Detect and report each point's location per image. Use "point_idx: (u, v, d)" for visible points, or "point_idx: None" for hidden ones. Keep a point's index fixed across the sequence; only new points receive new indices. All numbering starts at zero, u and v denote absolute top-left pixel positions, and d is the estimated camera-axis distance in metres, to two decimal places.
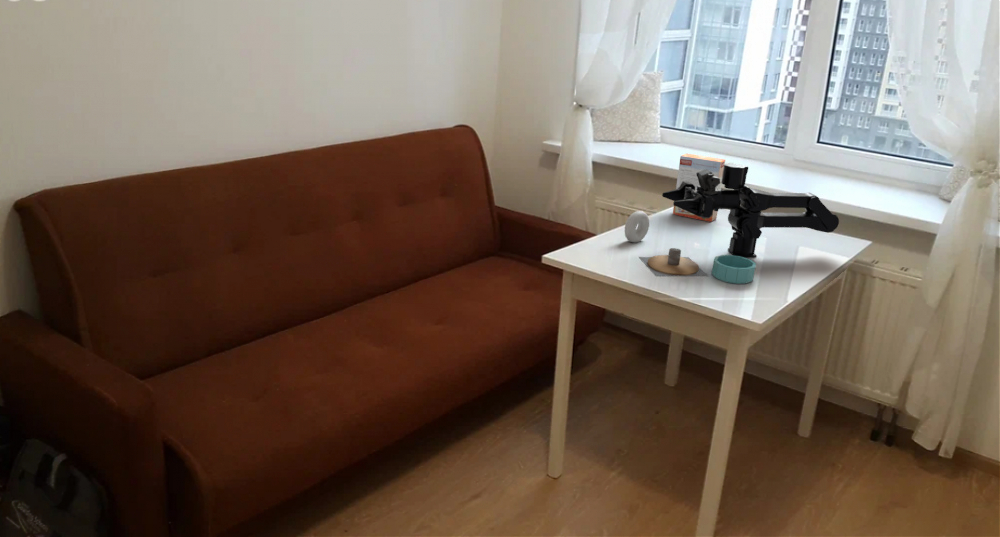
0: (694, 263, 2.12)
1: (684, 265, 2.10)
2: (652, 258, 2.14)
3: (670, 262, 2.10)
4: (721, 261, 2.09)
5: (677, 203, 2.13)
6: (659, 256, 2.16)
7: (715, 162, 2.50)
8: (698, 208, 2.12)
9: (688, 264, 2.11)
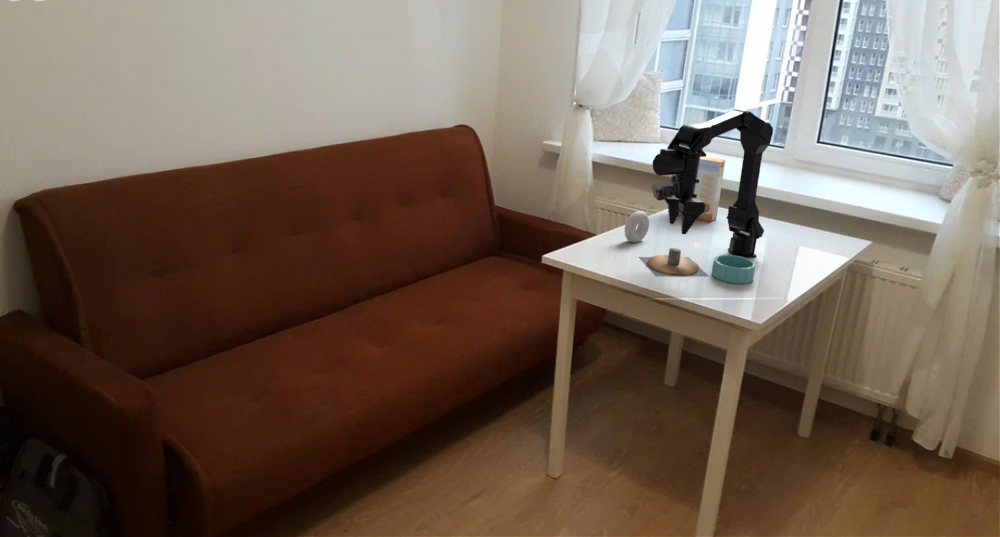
0: (694, 263, 2.12)
1: (684, 265, 2.10)
2: (652, 258, 2.14)
3: (670, 262, 2.10)
4: (721, 261, 2.09)
5: (684, 231, 2.03)
6: (659, 256, 2.16)
7: (715, 162, 2.50)
8: None
9: (688, 264, 2.11)
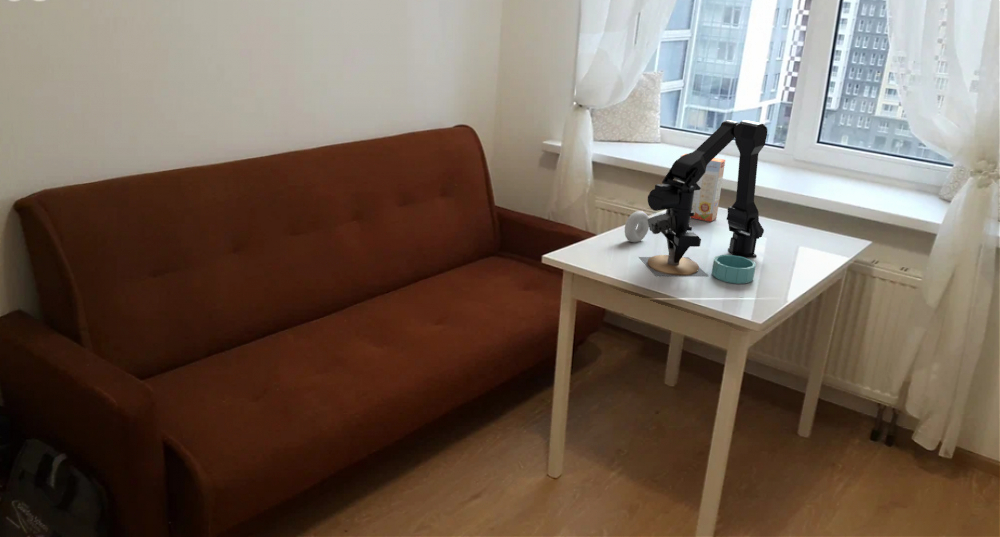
0: (694, 263, 2.12)
1: (684, 265, 2.10)
2: (652, 258, 2.14)
3: (670, 262, 2.10)
4: (721, 261, 2.09)
5: (676, 260, 2.09)
6: (659, 256, 2.16)
7: (715, 162, 2.50)
8: None
9: (688, 264, 2.11)
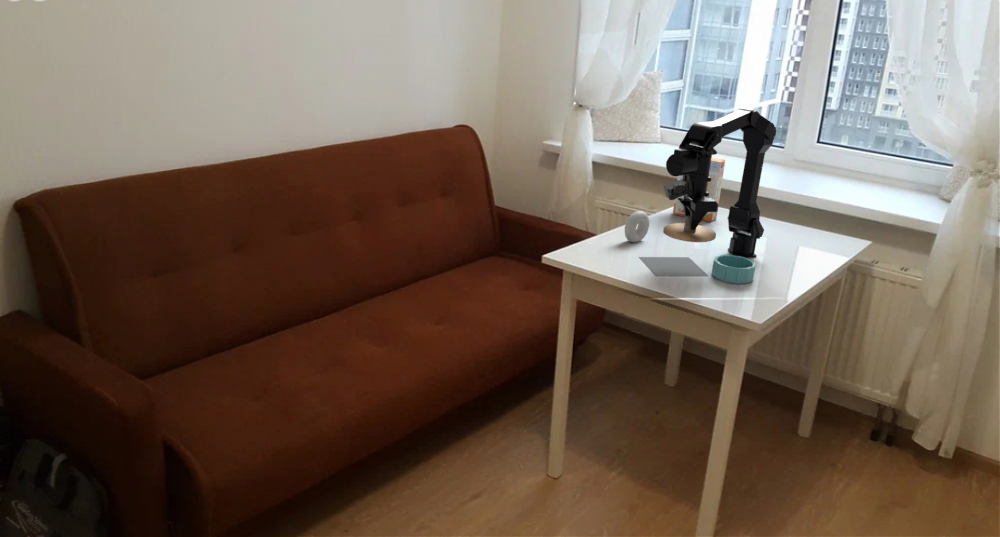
0: (711, 230, 2.08)
1: (701, 232, 2.06)
2: (668, 226, 2.10)
3: (686, 229, 2.06)
4: (721, 261, 2.09)
5: (693, 227, 2.04)
6: (675, 224, 2.12)
7: (715, 162, 2.50)
8: None
9: (705, 231, 2.07)
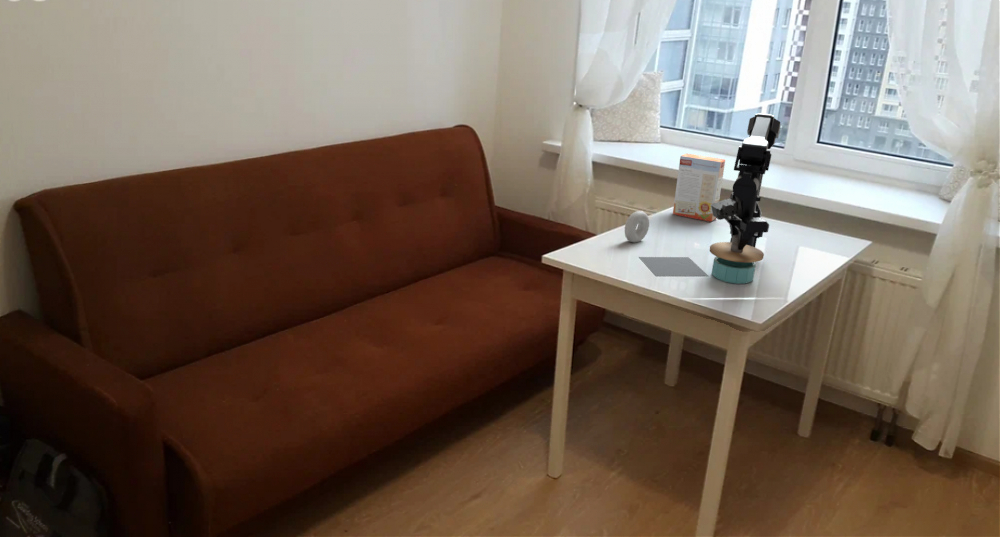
0: (758, 250, 2.05)
1: (748, 252, 2.03)
2: (714, 245, 2.07)
3: (734, 249, 2.02)
4: (721, 261, 2.09)
5: (741, 246, 2.01)
6: (720, 243, 2.09)
7: (715, 162, 2.50)
8: None
9: (752, 251, 2.04)
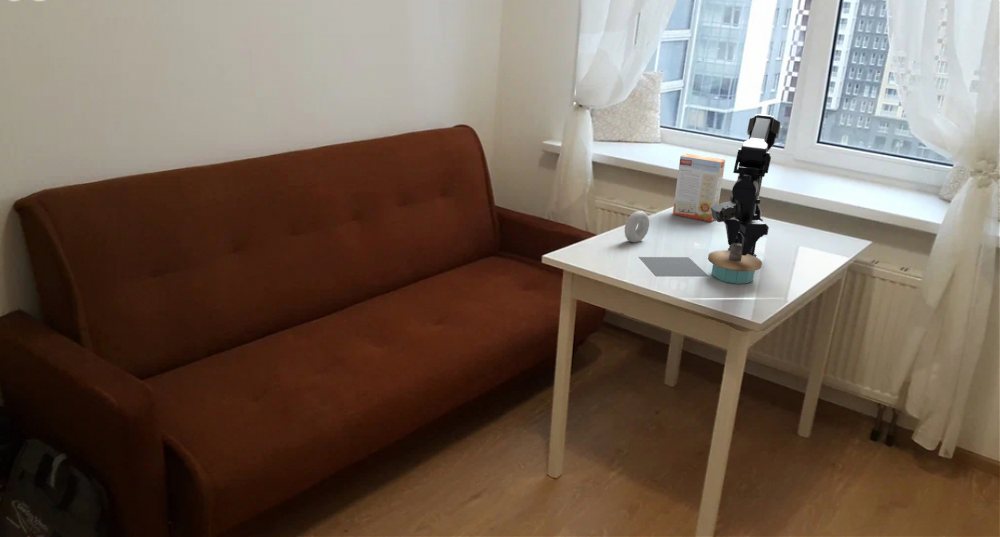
0: (756, 258, 2.06)
1: (746, 260, 2.04)
2: (712, 253, 2.08)
3: (732, 257, 2.03)
4: None
5: (744, 252, 1.99)
6: (719, 251, 2.10)
7: (715, 162, 2.50)
8: None
9: (750, 259, 2.05)
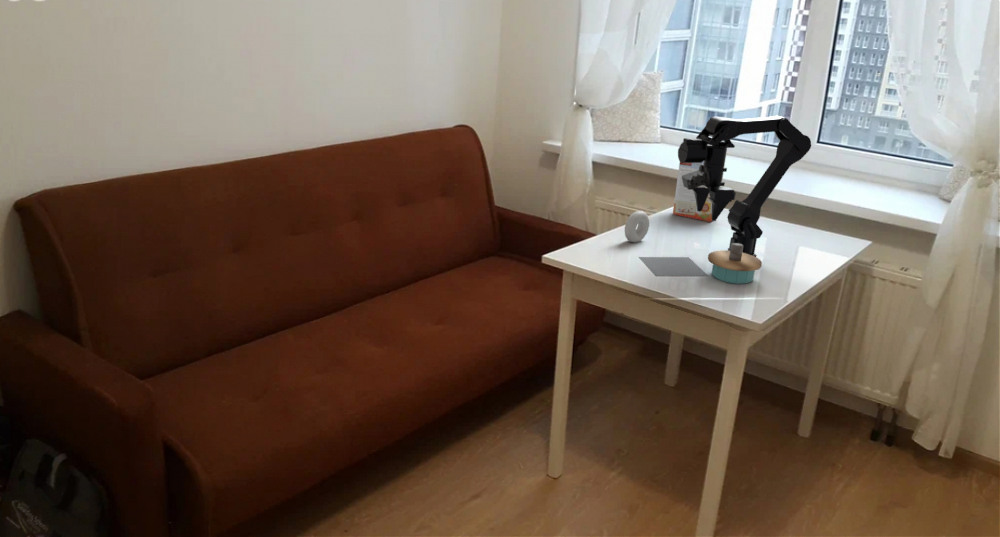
0: (755, 258, 2.06)
1: (746, 260, 2.04)
2: (711, 254, 2.07)
3: (732, 258, 2.03)
4: None
5: (714, 217, 2.14)
6: (717, 252, 2.09)
7: None
8: None
9: (750, 259, 2.05)
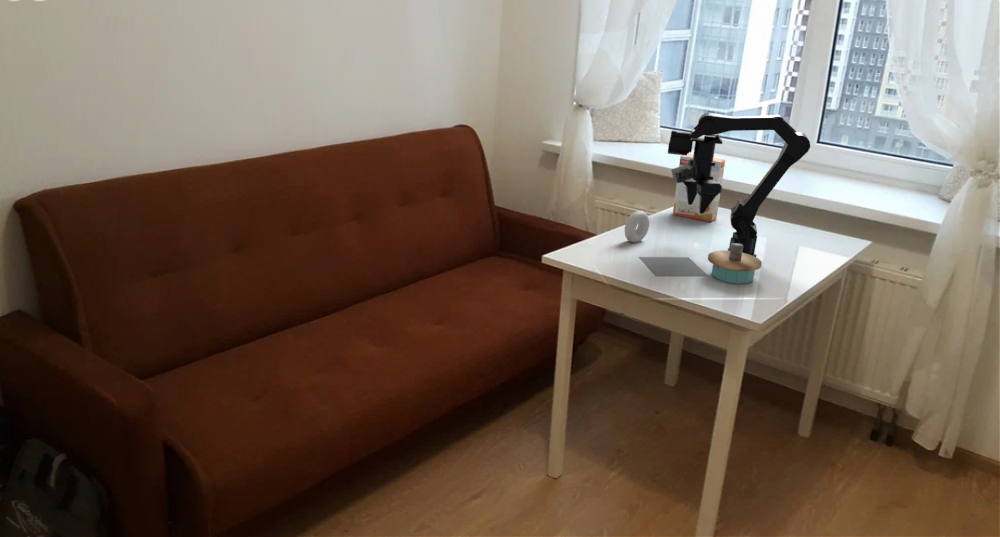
0: (754, 257, 2.06)
1: (746, 260, 2.04)
2: (711, 254, 2.07)
3: (733, 258, 2.03)
4: None
5: (702, 210, 2.21)
6: (716, 252, 2.09)
7: (715, 162, 2.50)
8: None
9: (749, 259, 2.05)
